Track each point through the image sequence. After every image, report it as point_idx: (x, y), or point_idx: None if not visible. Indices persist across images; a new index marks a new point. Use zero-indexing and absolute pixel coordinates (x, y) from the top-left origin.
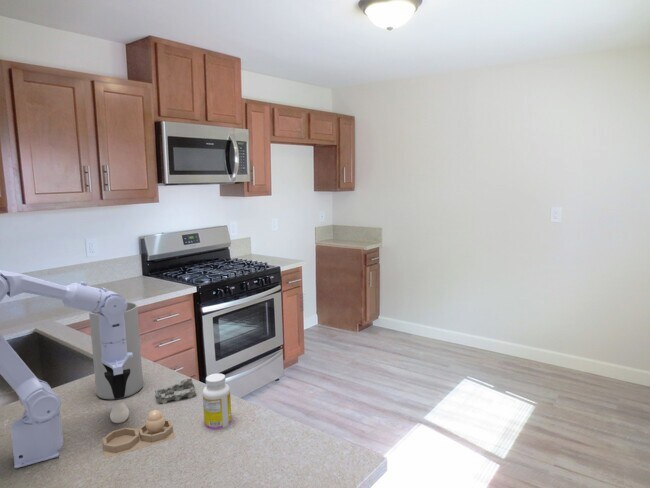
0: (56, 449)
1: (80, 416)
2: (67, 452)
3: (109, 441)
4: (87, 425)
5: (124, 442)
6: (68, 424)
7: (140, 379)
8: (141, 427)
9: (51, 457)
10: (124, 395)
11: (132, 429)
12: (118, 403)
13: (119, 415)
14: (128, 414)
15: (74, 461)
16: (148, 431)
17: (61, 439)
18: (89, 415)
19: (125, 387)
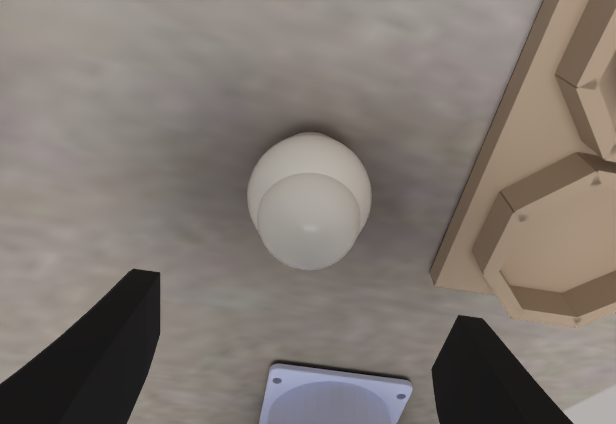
0: (386, 414)
1: (88, 287)
2: (394, 370)
3: (502, 272)
4: (211, 283)
5: (582, 225)
6: None
7: None
8: (609, 141)
9: (401, 413)
10: (489, 326)
11: (574, 190)
12: (318, 252)
13: (366, 220)
14: (348, 149)
15: None
16: (610, 84)
17: (367, 421)
18: (100, 257)
19: (555, 404)
